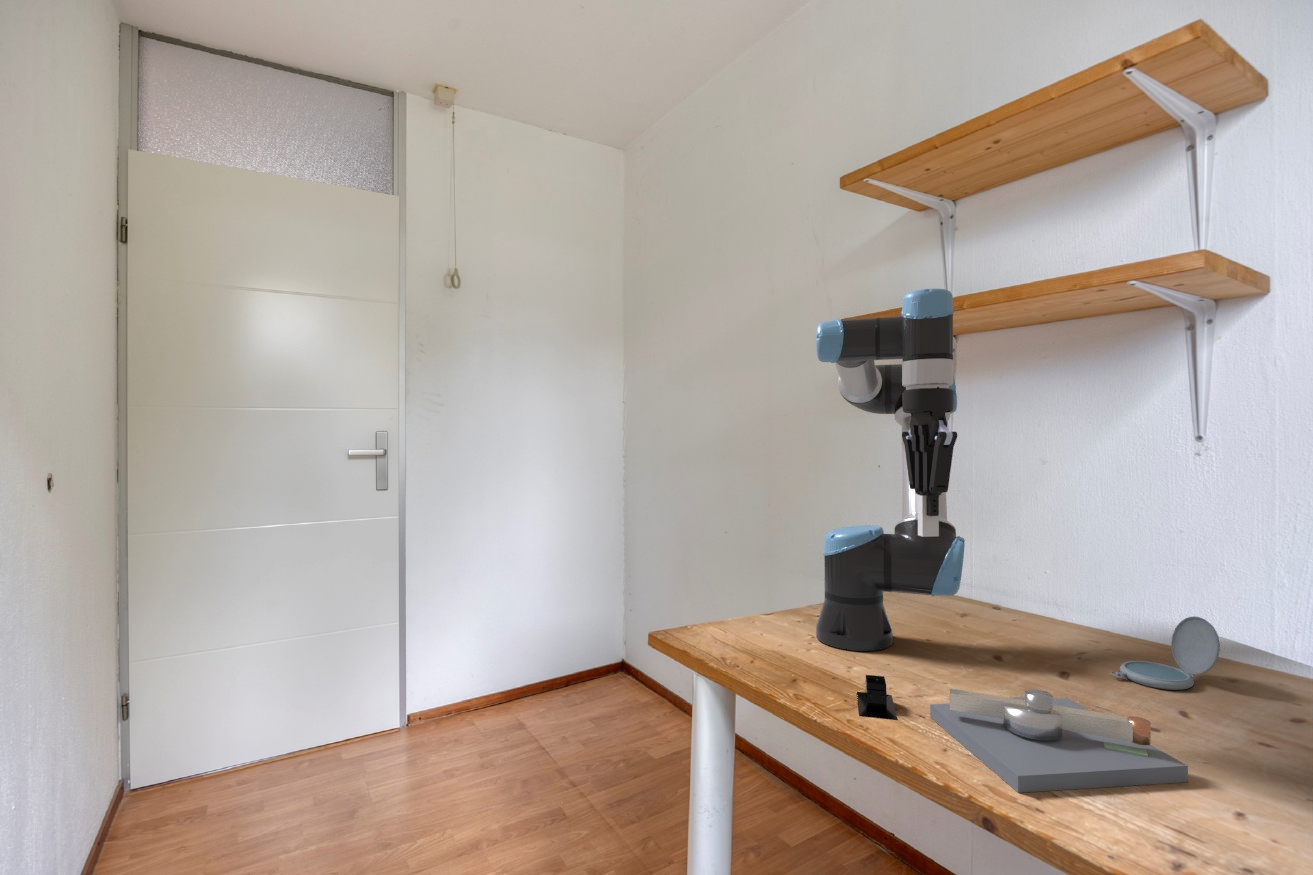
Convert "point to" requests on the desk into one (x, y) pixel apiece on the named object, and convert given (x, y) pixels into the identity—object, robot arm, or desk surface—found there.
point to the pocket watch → (1179, 658)
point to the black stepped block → (876, 699)
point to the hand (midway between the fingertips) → (928, 535)
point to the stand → (1058, 755)
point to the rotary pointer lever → (1049, 717)
